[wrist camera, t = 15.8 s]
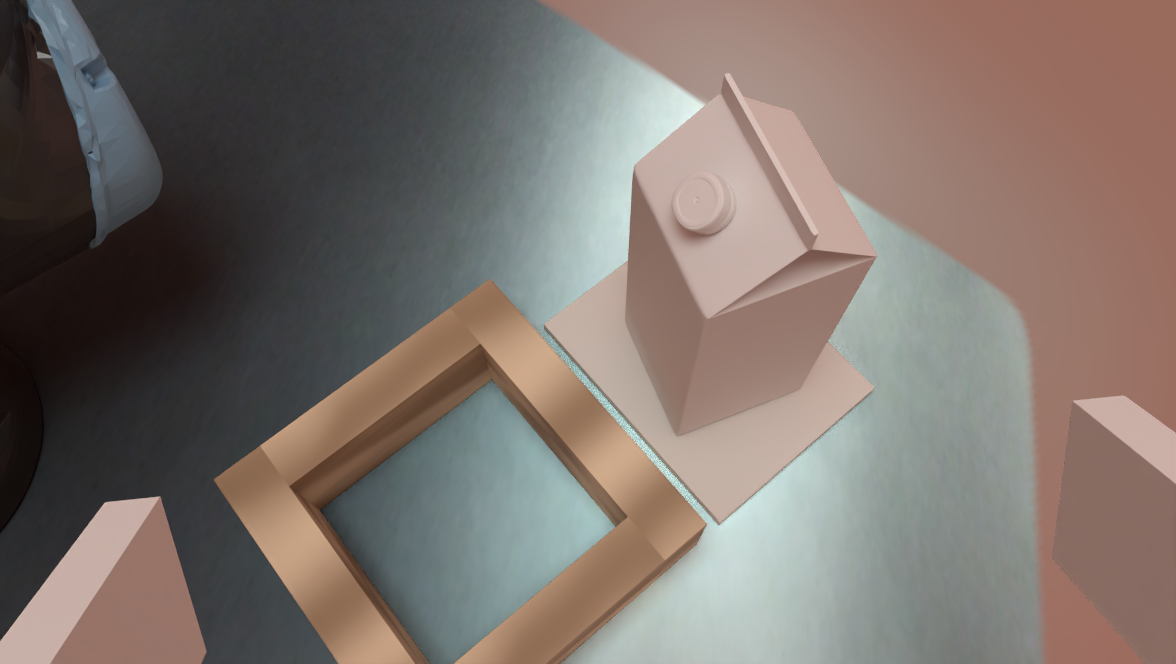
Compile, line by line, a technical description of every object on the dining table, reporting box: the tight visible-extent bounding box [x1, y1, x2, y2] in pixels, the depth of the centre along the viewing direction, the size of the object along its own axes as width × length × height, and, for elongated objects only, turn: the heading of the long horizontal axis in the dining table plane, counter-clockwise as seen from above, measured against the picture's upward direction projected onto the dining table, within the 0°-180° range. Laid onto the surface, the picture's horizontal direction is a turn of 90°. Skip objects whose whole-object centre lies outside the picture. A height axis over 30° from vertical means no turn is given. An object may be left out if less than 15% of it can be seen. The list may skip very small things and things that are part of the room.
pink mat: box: [544, 261, 874, 525], centre depth 50 cm, size 14×11×1 cm
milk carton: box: [625, 73, 877, 436], centre depth 41 cm, size 7×7×19 cm
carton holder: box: [214, 279, 707, 664], centre depth 44 cm, size 16×16×5 cm
